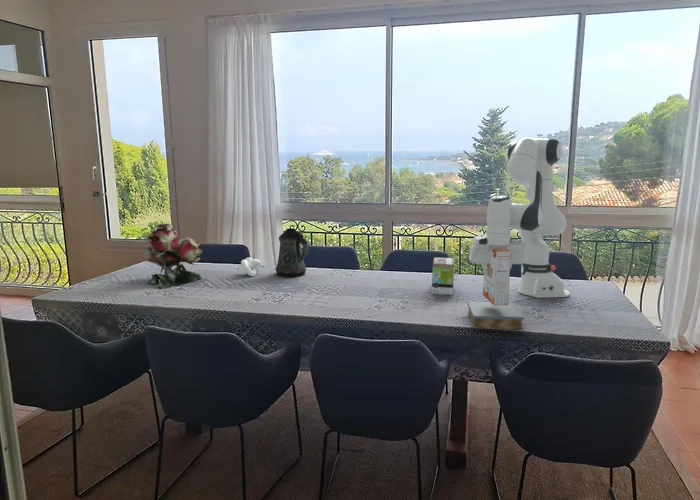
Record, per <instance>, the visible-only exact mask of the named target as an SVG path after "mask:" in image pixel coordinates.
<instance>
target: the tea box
mask: <svg viewBox="0 0 700 500" xmlns="http://www.w3.org/2000/svg"><path fill="white" fill-rule="evenodd" d="M432 263H433V264H432V273H431V274H432V275H431V276H432V277H431V294H432V295H443V296H444V295H446V296H452V295H453V294H454V293H453V292H454V282H455V281H454V279H455V278H454V277H455V258H454V257H434V258H433V262H432Z"/></svg>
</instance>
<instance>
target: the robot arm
mask: <svg viewBox="0 0 700 500" xmlns="http://www.w3.org/2000/svg"><path fill="white" fill-rule="evenodd" d="M562 147H563V146H562V143H561V142H560V140H558V139H557V138H551V137H550V138H530V137H524V138H521V139H520V140H514V141H512V142H511V143H510V144H509V145H508V148H507V159H508V162H507V167H506V173H507V175H508V177H509V178H510V179H511V180H512V182H515V183H516V184H518V185H520V186H521V185H522V186H524V187H525V196H526V198H527V199H528V200H529V202H527V203H512V199H511V197H510V196H508V195H504V194H503V195H502V194H500V195H494V196H491V197H490V198H489V201H488V205H487V212H486V221H487V227H486V230H485V233H483V234H480V235H477V236H474V237H473V242H474V243H472V245H471V247H470V252H469V258H468V259H469V261H470V263H471V264H480V265H481V268H482V269H483V276H484V275H488V272H489V271H488V270H486V269H485V267H484V266H486V264H490V256H491V254H490V253H491V249H507V250H509V251H511V260H510V270H511V269H512V268H513V265H521V267H520V273H521V277H520V282H519V284H518V288H517V292H518V293H520V294H522V295H524V296H530V297H534V298H537V299H538V298H541V299H542V298H567V297H570V292H569V291H568V290H567V289H565V283H564V281H563V279H562V278H561V277H559V276H558V275H557V274H556V273H554V272H553V271H556V269H557V267H556V265H552V264H551V263H550V262H549V259H550V247H549V244H547V243H546V241H544V239H543V238H542V235H546V236H555V235H556V236H557V235H558V236H559V235H560V234H562V233H563V232H564V231H565V230H566V227H567V219H566V216H565V215H564V214H563V213H562V212H561V211H560V210H559V208H558V206H557V205H556V202H555V199H554V195H553V181H554V179H553V178H554V177H553V175H554V173H553V172H554V171H553V166H554V164H556V163H558V161H560V159H561V156H562V153H563V149H562ZM511 229H512V230H513V229H514V230H516V231H517V232H518V234H519V235H520V238H521V239H515V238H514V239H513V238H511Z"/></svg>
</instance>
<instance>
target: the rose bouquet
mask: <svg viewBox="0 0 700 500" xmlns="http://www.w3.org/2000/svg"><path fill="white" fill-rule="evenodd" d="M173 227H174V226H173V225H172V224H171V223H167V222H166V223H159V224H158V225H155V226H154V230H150V233H151V235H148V236H146V240H147V241H146V243H147V244H148V246H147V248H144V253H145V256H146V262H148V263H151V264H154V265H156V266H158V267H160V268H161V269H160V273H154V274H151V275H150V276H151V279H149V280H148V281H147V282H146V284H147V285H149V284H154V285H155V286H154V287H157V288H160V289H161V290H162V289H170V288H172V287H179V286H182V285H186V284H188V283H191V282H196V281H198V280H199V279H202V276H201V275H200V273H196V272H195V271H194V272H192V271H189V270H187V269H186V267H185V266H184V264H183V263H182V262H184V263H186V264H189V265H191V266H194V265H196V266H197V264H196V263H197V262H199V261H200V260H201V256H200V255H201V254H202V253H203V250H202V248H199V247H198V246H200V244H199V243H197V242H196V241H195V240H194V239H192V238H189V237H185V238H181V239H179V237H180V234H179V233H178V232H177V230H175V229H174V228H173ZM193 262H195V263H193ZM173 267H175V268H173ZM172 268H173V269H172ZM163 270H164V274H162V273H163Z"/></svg>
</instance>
